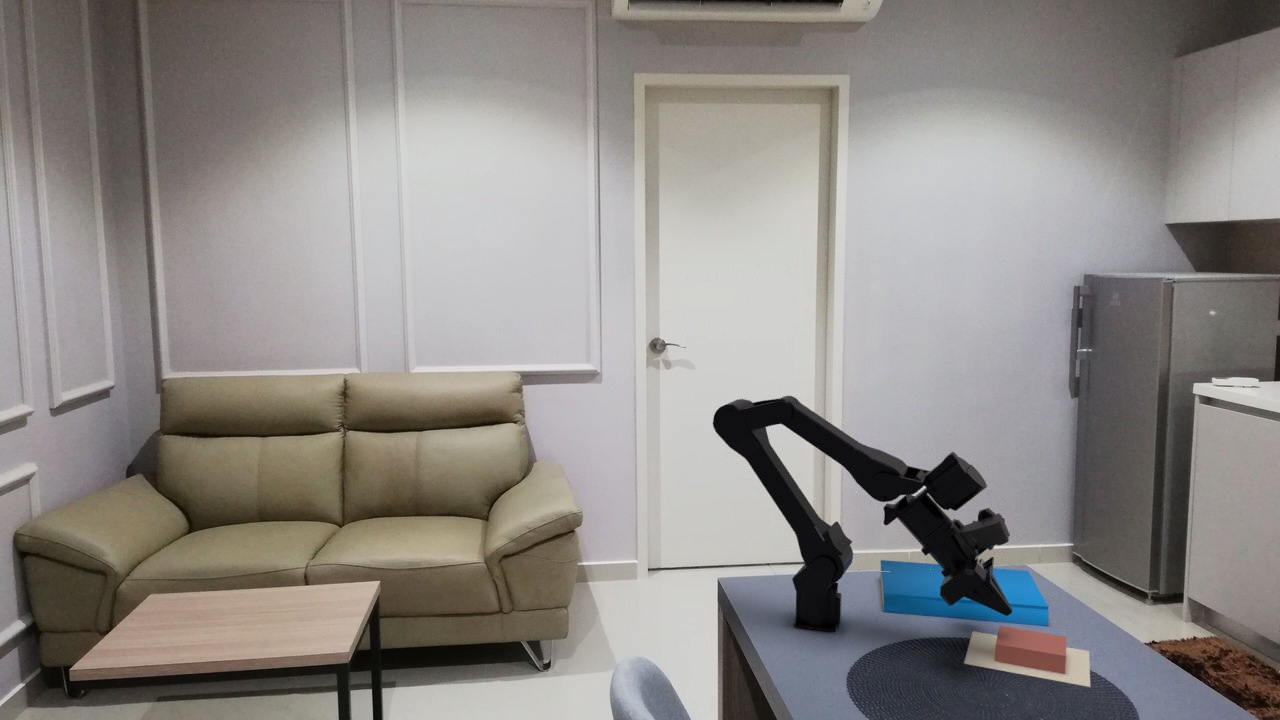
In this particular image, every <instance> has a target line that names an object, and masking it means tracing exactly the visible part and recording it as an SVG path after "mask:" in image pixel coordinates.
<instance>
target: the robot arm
mask: <svg viewBox="0 0 1280 720" xmlns="http://www.w3.org/2000/svg"><path fill="white" fill-rule="evenodd" d="M777 425H782V426H784V427H785V428H787V429H788V430H790V431H792V432H793V433H795V434H796V435H797V436H799V437H800V438H801V439H803V440H804V441H806V442H807V443H809V444H810V445H812V446H813V447H815V448H816V449H818V450H819V451H820V452H822V453H823V454H824V455H826V456H828V457H829V458H831V459H832V460H833V461H835V462H836V463H838V464H839V465H841V466H842V467H843V468H844V469H845V470H846V471H848V473H849V474H850V476H851V478H852V479H853V480H854V481H855V483H856V484H857V485H859V487H860V488H861V489H863V490H864V492H865V493H867V494H868V495H869V496H870V497H871V498H872V499H874V500H876V501H878V502H881V503H885V505H884V506H883V511H884V512H883V513H884V516H883V525H884V526H889V525H890V524H891V523H893V522H894V520H896V519H898V521H899V522H900V523H901V524H902V525H903V526H904V527H905V528H906V530H907V531H908V532H909V533H910V534H911V535H912V536H913V537H914V538H915V539H916V541H918V543H919V544H920V545H921V546H922V548H921V549H920V551H921V552H922V553H923V554H924V556H928V555H930V556H931V557H932V559H934V560H935V562H936V564H939V565H940V566H941V567H942V571H941V573H942V574H943V576H944V577H945V578H944V579H943V582H942V584H941V587H940V596H941V597H942V598H943V599H944V601H945V602H946V603H947V604H948V605H949V606H951V605H953V604H955V603H956V602H957V601H959V600H960V599H961V598H963V597H966V598H968V599H971V600H973V601H975V602H978V603H980V604H982V605H984V606H986V607H989V608H991V609H993V610H995V611H997V612H999V613H1001V614H1003V615H1005V616H1008V615H1010V614H1011V613H1012V608H1011V606H1010V604H1009V602H1008V601H1007V599H1006V597H1005V595H1004V593H1003V592H1002V590H1001V588H1000V586H999V585H998V583H997V581H996V579H995V577H994V575H993V568H994V562H995V558H994V556H992V557H989V558H988V559H987V560H984V559H983V558H980V559H979V556H981V555H982V554H983V553H984V552H985V551H986V550H989V551H992V550H994V547H995V546H1002V545H1005V544H1007V543H1009V541H1010V540H1009V539H1010V538H1009V537H1010V536H1011V534H1010V532H1009V530H1008V527H1007V525H1006V523H1005V522H1006V520H1005V518H1004V517H1003V516H1002V514H1000V513H995V512H994V511H993V510H992V509H991V508H990V507H986V508H984V509H980V510H979V511H978V513H977V515H978V516H977V520H972V522H971V523H968V524H965V525H964V524H963V523H962V522H961V521H960V519H956V518H953V519H951V518H950V517H949V516H948V515H947V514H946V513H945V512H944V511H945V510H946V511H949V510H952V511H955V512H956V511H958V510H959V509H961V508H962V507H963V506H965V505H966V504H967V503H969V502H970V501H971V500H972V499H974V498H975V497H976V496H977V495H979V494H980V493H981V492H983V491H984V490H985V489H987V488H988V485H987V482H986V480H985V479H984V477H983V476H982V475H981V473H980V472H979V470H977V468H976V467H975V466H973V465H972V464H970V463H969V462H967V461H966V460H965V459H964V458H962V457H960V456H958V455H957V454H956V452H955V451H951V452H950V453H948V454H947V455H946V456H945V457H944V459H943V460H942V461H941V462H940V463H938V464H937V465H936V466H935V467H934V468H932V469H931V470H927V469H922V468H918V467H913V466H910V465H907V464H906V463H905V462H904V461H903V459H900V458H898V457H897V456H894V455H892V454H889V453H887V452H885V451H884V450H881V449H878V448H875V447H871V446H868V445H865V444H863V443H861V442H860V441H857V440H856V439H855V438H854V437H852V436H850V435H849V434H847V433H846V432H844V431H842V430H841V429H840V428H838V427H836V426H835V425H834V424H832V423H831V422H829V421H828V420H826V419H825V418H823V416H820V415H819V414H817V413H816V412H814V411H813V410H811V409H810V408H809V407H807V406H806V405H804V404H803V403H801V401H800V400H798V398H796V397H794V396H792V395H786V396H785V395H784V396H782V397H780V398H772V399H766V400H760V401H755V402H752V400H749V399H745V398H739V399H736V400H735V399H734V400H733V401H730V402H727V403H725V404H724V405H721V406H720V407H719V408H718V409H716V410H715V412H714V415H713V419H712V427H713V430H714V431H715V432H716V434H717V436H719V437H720V439H721V440H722V441H723V442H724V443H725V444H726V445H727V446H728V447H729V448H730V449H731V450H733V451H734V452H735V453H737V454H738V455H740V456H741V457H742V458H743V459H745V460H746V462H747V463H748V465H749V466H750V467H751V469H752V470H753V472H754V474H755V476H756V477H757V478H758V479H759V481H760V483H761V484H762V486H763V487H764V488H765V490H766V492H767V493H768V495H769V496H770V498H771V499H772V501H773V502H774V504H775V505H776V506H777V508H778V510H779V511H780V512H781V514H782V516H783V517H784V519H785V521H786V522H787V523H788V525H789V526H790V528H791V529H792V531H793V532H794V535H795V537H796V540H797V543H798V545H797V546H798V548H799V551H800V552H799V553H800V557H801V558H802V560H803V563H804V564H803V565H802V567H801V568H800V569H799V570H798V571H797V572H796V574H795V575H793V576H792V578H791V579H792V583H793V586H794V590H795V618H794V622H793V627H795V628H801V629H808V630H818V631H824V632H825V631H826V632H836V631H837V629H838V628H837V627H838V625H840V623H841V621H842V620H841V619H842V598H843V597H842V596H843V595H842V593H841V592H839V583H838V582H839V580H841V579H842V578H843V576H844V575H845V573H846V572H847V570H849V568H850V566H851V564H852V563H853V559H854V552H853V551H854V550H853V549H852V546H851V545H852V543H853V541H852V539H850V538H849V537H847V535H846V533H844V531H843V529H842V527H841V525H840V523H839V522H838V521H834V523H832V524H831V525H830V524H828V523H827V522H826V521H824V520H823V519H822V518H821V517H820V516H819V515H818V513H817V512H816V510H815V508H813V506H812V504H811V503H810V502H809V500H808V499H807V497H806V496H805V494H804V492H803V491H802V490H801V488H800V486H799V484H798V483H797V482H796V480H795V479H794V477H793V476H792V475H791V473H790V472H789V469H788V468H787V467H786V466H785V463H783V461H782V460H781V458H780V456H779V455H778V453H777V452H776V450H775V449H774V448H773V446H772V445H771V443H770V439H769V435H768V431H767V428H768V427H773V426H777ZM924 487H925V488H924ZM922 488H924V489H923V490H921V489H922ZM916 493H917V494H916ZM915 494H916V495H915ZM900 496H903V497H902V498H900V499H899V500H898V501H896V502H895V503H888V502H892V501H895V500H896V499H898V498H899V497H900ZM886 502H887V503H886ZM942 509H943V510H942Z"/></svg>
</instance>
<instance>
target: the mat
mask: <svg viewBox="0 0 1280 720" xmlns="http://www.w3.org/2000/svg"><path fill="white" fill-rule="evenodd" d="M997 636H998V634H992V633H984V632H980V631H972V633H971V636H970V639H969V644H968V647H967V651H966V655H965V659H964V661H963V664H964V665H969V666H974V667H975V666H976V667H981V668H985V669H991V670H997V671H1002V672H1006V673H1012V674H1017V675H1023V676H1028V677H1029V676H1030V677H1033V678H1040V679H1045V680H1050V681H1056V682H1062V683H1064V684H1066V683H1067V684H1071V685H1076V686H1083V687H1087V688H1091V672H1090V671H1091V670H1090V669H1091V667H1090V665H1091V663H1090V651H1089V650H1084V649H1079V648H1073V647H1067V646H1066V665H1065V674H1062V673H1056V672H1051V671H1045V670H1040V669H1034V668H1029V667H1023V666H1018V665H1012V664H1007V663H1001V662H996V661H995V651H996V641H997Z"/></svg>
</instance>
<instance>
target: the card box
mask: <svg viewBox="0 0 1280 720" xmlns="http://www.w3.org/2000/svg"><path fill="white" fill-rule="evenodd" d="M997 635H998V636H997V641H996V651H995V661H996V662H1001V663H1007V664H1012V665H1018V666H1023V667H1029V668H1034V669H1040V670H1045V671H1051V672H1056V673H1062V674H1065V665H1066V647H1067V636H1065V635H1060V634H1053V633H1049V632H1048V633H1047V632H1040V631H1034V630H1029V629H1022V628H1017V627H1011V626H1004V625H999V627H998V631H997Z"/></svg>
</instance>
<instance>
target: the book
mask: <svg viewBox="0 0 1280 720" xmlns="http://www.w3.org/2000/svg"><path fill="white" fill-rule="evenodd" d="M930 569H931V570H930ZM880 571H890V572H879V574H880V576H879V577H880V579H879V580H880V581H881V582H880V581H879V582H880V587H881V598H882V610H883V613H894V614H906V615H919V616H932V617H940V618H951V619H952V618H953V619H965V620H978V621H988V622H997V623H999V622H1000V623H1012V624H1023V625H1024V624H1025V625H1034V626H1046V627H1047V626H1049V621H1050V620H1049V615H1050V613H1049V606H1048V603H1047V601H1046V600H1045V598H1044V596H1043V594H1042V593H1041V591H1040V588H1038V586H1037V583H1036V582H1035V580H1034V578H1033V577H1032V575H1031V572H1030V571H1029V570H1025V569H1024V570H1023V569H1021V570H1019V569H1006V568H997V567H995V568H994V567H993V575H994V577H995V579H996V581H997V583H998V585H999V586H1000V588H1001V590H1002V592H1003V593H1004V595H1005V597H1006V599H1007V601H1008V602H1009V604H1010V606H1011V608H1012V613H1011V614H1010V615H1008V616H1005V615H1003V614H1001V613H999V612H997V611H995V610H993V609H991V608H989V607H986V606H984V605H982V604H980V603H978V602H975V601H973V600H971V599H968V598H966V597H963V598H961V599H960V600H959V601H957V602H956V603H955V604H953V605H951V606H949V605H948V604H947V603H946V602H945V601H944V599H943V598H942V597H941V596H940V587H941V584H942V582H943V579H944V578H945V577H944V576H943V574H942V573H941V571H942V567H941V566H940V565H939V564H938V563H927V562H925V563H924V562H912V561H911V562H909V561H898V560H885V559H881V560H880Z"/></svg>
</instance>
